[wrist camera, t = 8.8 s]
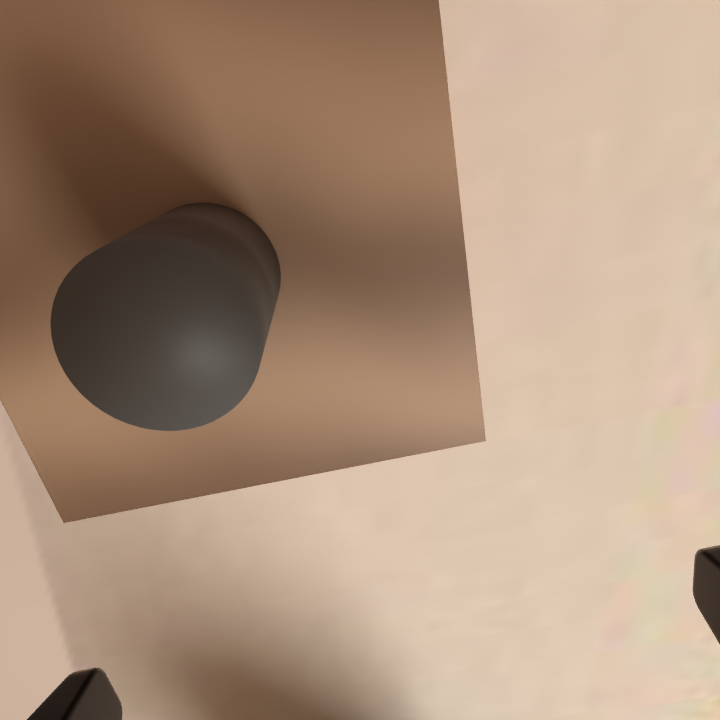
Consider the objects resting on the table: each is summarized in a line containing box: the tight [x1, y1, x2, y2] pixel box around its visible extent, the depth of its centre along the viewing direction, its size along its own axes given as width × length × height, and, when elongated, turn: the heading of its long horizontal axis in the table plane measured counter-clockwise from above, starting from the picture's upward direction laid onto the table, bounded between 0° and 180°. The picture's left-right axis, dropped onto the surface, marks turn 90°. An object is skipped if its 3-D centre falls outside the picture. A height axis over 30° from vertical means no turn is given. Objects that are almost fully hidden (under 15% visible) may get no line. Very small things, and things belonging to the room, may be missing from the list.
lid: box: [0, 0, 486, 523], centre depth 10 cm, size 11×11×5 cm
